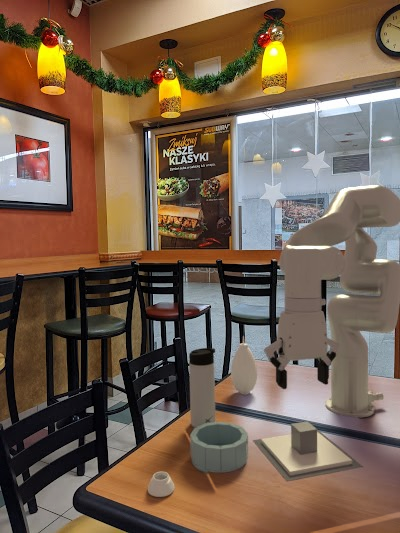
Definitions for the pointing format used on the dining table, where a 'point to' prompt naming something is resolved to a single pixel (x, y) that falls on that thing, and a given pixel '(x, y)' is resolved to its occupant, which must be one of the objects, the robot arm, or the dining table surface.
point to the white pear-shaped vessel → (243, 369)
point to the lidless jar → (161, 485)
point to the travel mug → (202, 386)
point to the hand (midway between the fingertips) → (302, 384)
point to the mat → (308, 474)
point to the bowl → (219, 447)
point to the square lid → (305, 450)
